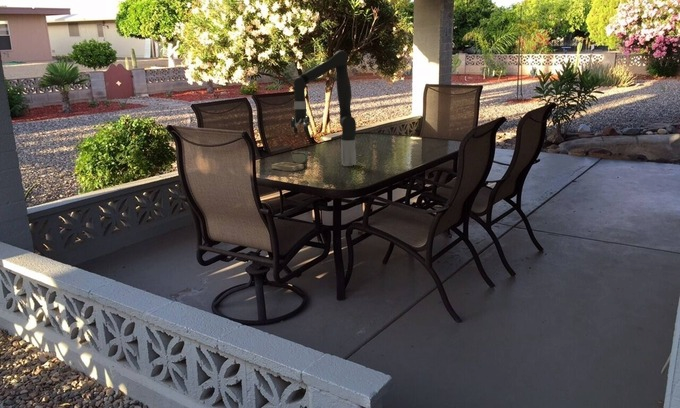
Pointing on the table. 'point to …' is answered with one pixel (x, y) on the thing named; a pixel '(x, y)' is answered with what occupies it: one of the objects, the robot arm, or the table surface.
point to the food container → (299, 157)
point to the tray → (287, 166)
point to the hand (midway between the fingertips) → (300, 132)
